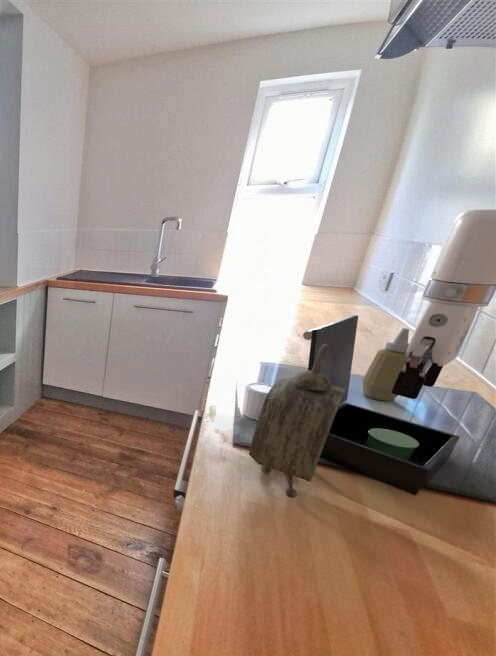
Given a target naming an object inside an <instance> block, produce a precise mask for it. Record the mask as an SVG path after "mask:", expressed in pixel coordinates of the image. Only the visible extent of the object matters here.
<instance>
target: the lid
mask: <svg viewBox="0 0 496 656" xmlns="http://www.w3.org/2000/svg"><path fill="white" fill-rule="evenodd" d="M358 322H359V315H357V314H356V315H355V314H354V315H351V316H348V317H345V318H342V319H339V320H336V321H332V322H330V323H327V324H324V325H321V326H319V327H315V328H311V329H310V330H306V331H304V332H303V334H302V337H303V339H304V340H305V341H309V340H310V347H309V355H308V356H309V357H308V367H307V371H312V369H313V366H314V363H315V362H316V359H317V356H318V353H319V350H320V348H321V347H322V345H324V344H327V345H328V347H327V350H326V353H325V355H324V358H323V362H322V364H323V365H322V368H321V370H320V372H321V373H323V374H326V376H327V377H328V378H329V379H330V381H331V384H332V386H337V387H341V388H345V391H344V394H343V396H342V399H341V402H340V404H342V403H344V402H347V401H348V396H349V389H350V381H351V376H352V375H351V373H352V367H353V359H354V351H355V345H356V336H357V329H358ZM340 404H339V405H340Z"/></svg>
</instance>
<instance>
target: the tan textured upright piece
mask: <svg viewBox="0 0 496 656" xmlns="http://www.w3.org/2000/svg"><path fill="white" fill-rule="evenodd" d="M327 347H328V345H327V344H324V345H322V347H321V348H320V350H319V353H318V356H317V359H316V362H315V363H314V366H313V369H312V371H308V370H304V371H302V372H298V373H297V374H296V375H295V376H290V377H285V378H280V379H277V380H276V381H275V382H274V384H273V385H272V386H273V387H272V388H271V389H270V391H269V392H268V394H267V396H266V398H265V400H264V403H263V406H262V409H261V413H260V416H259V419H258V420H257V423H256V425H255V426H256V427H255V429H254V433H253V437H252V440H251V444H250V447H249V452H248V456H249V457H251V458H252V459H253V461H255V462H256V464H258V465H260V470H261V472H262V473H264V474H270V473H271V472H272V470H275V471H278V472H281V473H283V474H284V475H285V476H286V480H287V485H288V488H287V489H286V490H285V495H286V496H287V497H288V498H291V499H294V498H295V499H296V498H297V497H298V491H297V490H296V489H295V488H294V478H297V479H300V480H304V481H306V482H309V483H311V481H312V478H313V476H314V474H315V471H316V468H317V466H318V463H319V460H320V459H321V458H320V455H321V452H322V450H323V447H324V444H325V442H326V439H327V436H328V434H329V431H330V428H331V426H332V423H333V420H334V418H335V415H336V412H337V410H338V407H339V404H340V402H341V399H342V396H343V394H344V391H345V388H341V387H337V386H332V384H331V381H330V379H329V378H328V377H327V376H326V374H323V373H321V372H320V370H321V368H322V365H323V364H322V362H323V358H324V355H325V353H326V350H327Z"/></svg>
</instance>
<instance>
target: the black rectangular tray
mask: <svg viewBox="0 0 496 656" xmlns="http://www.w3.org/2000/svg"><path fill="white" fill-rule="evenodd" d="M373 428H381V429H388V430H393V431H396V432H400V433H403V434H405V435H408V436H410V437H412V438H414V439H415V440H416V441H418V443H419V446H418V448H416V449H414V451H413V453H412V456H411V458H410V460H409V461H406V460H403V459H400V458H397V457H394V456H392V455H389V454H386V453H383V452H380V451H377V450H375V449H372V448H369V447H366V446H365V443H366V441H367V438H368V436H369V435H368V431H369V430H370V429H373ZM460 438H461V436H460V435H457V434H453V433H450V432H446V431H443V430H439V429H436V428H432V427H430V426H426V425H423V424H419V423H416V422H413V421H409V420H405V419H403V418H399V417H395V416H393V415H389V414H385V413H382V412H379V411H376V410H372V409H369V408H365V407H362V406H358V405H354V404H352V403H349V402H347V401H345V402H343V403H342V404H340V405H339V407H338V410H337V412H336V415H335V418H334V420H333V423H332V426H331V428H330V431H329V434H328V436H327V439H326V442H325V444H324V447H323V450H322V452H321V455H320V458H319V459H322V460H324V461H327V462H329V463H331V464H335V465H337V466H339V467H342V468H344V469H347V470H350V471H352V472H355V473H357V474H360V475H362V476H365V477H367V478H369V479H372V480H375V481H378V482H380V483H381V484H385V485H387V486H390V487H392V488H395V489H397V490H400V491H403V492H405V493H407V494H410V495H413V496H417V495H418V494H419V493H420V492H421V491H422V490H423V489H424V488H425V486H426V485H427V484H428V483H429V482H430V480H431V479H433V477H434V476H435V475H436V474H437V473H438V472H439V470H440V469H441V468H442V467H443V466H444V465H445V464H446V463H447V462H448V460H449V459H450V457H451V456H452V453H453V451H454V449H455V447H456V446H457V443H458V442H459V440H460Z"/></svg>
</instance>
